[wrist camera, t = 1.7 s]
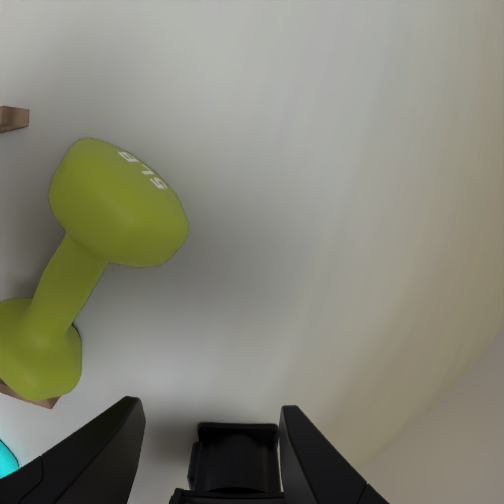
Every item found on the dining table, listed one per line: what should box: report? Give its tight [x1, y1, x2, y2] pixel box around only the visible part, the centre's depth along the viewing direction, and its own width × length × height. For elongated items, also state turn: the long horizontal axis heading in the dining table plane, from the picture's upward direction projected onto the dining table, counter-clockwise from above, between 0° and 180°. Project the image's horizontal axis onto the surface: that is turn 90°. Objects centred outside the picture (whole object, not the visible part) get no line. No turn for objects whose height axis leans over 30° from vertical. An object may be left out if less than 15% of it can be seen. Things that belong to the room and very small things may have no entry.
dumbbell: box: [0, 138, 189, 401], centre depth 16 cm, size 16×8×7 cm, turn 138°
